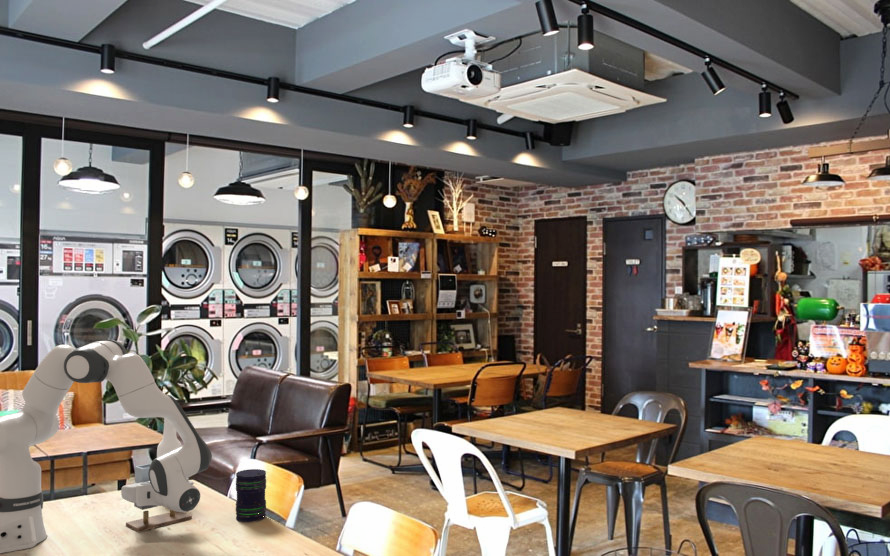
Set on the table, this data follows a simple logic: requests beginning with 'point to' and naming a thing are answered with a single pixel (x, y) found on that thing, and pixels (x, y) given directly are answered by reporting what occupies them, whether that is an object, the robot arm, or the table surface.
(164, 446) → the alcohol
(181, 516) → the pin board
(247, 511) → the black cylinder
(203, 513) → the table surface
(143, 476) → the sleeve
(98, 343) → the robot arm
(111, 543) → the table surface
